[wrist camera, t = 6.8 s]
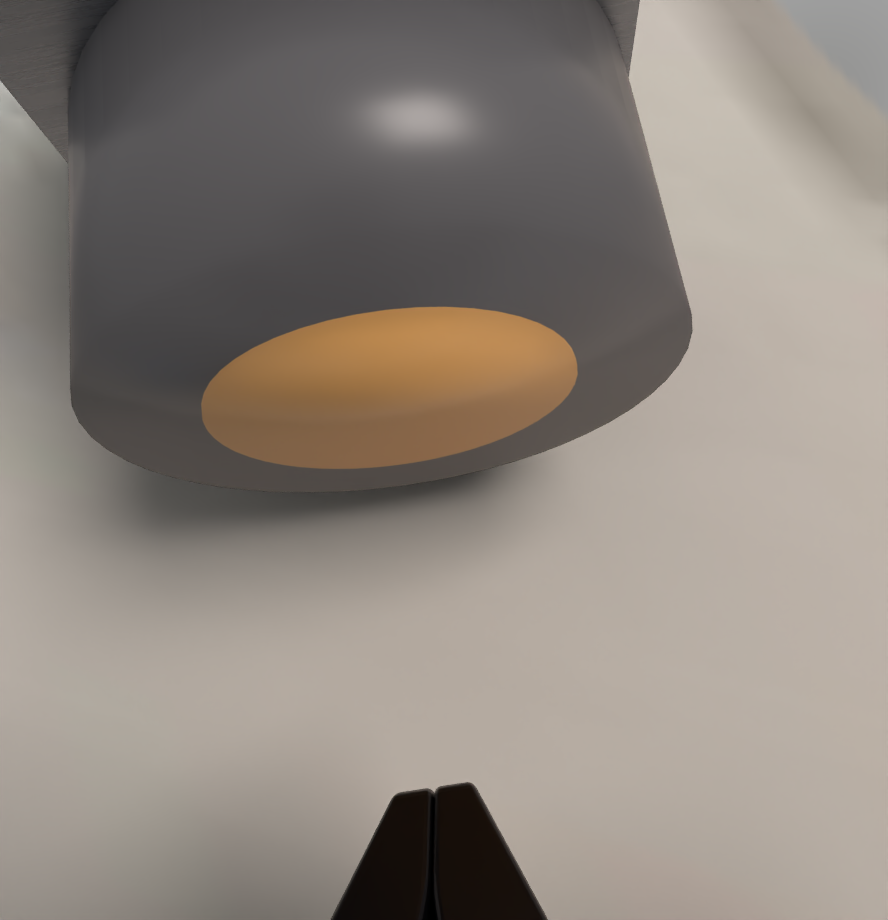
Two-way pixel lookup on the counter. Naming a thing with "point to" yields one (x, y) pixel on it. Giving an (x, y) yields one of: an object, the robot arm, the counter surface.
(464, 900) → the robot arm
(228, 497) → the counter surface
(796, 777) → the counter surface
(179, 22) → the knob
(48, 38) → the mount
